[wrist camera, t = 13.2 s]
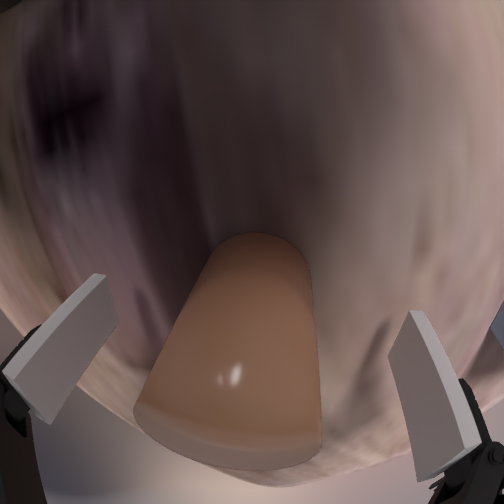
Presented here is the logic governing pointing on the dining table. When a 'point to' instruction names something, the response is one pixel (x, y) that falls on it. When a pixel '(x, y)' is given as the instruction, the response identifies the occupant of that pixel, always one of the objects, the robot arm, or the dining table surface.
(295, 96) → the dining table surface
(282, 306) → the terracotta cylinder
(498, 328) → the tote
